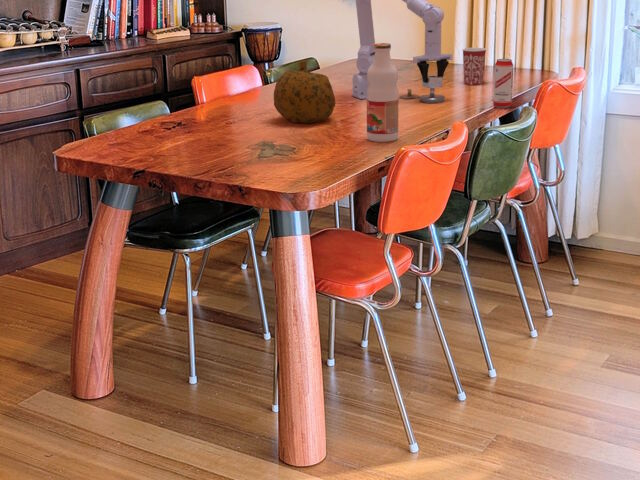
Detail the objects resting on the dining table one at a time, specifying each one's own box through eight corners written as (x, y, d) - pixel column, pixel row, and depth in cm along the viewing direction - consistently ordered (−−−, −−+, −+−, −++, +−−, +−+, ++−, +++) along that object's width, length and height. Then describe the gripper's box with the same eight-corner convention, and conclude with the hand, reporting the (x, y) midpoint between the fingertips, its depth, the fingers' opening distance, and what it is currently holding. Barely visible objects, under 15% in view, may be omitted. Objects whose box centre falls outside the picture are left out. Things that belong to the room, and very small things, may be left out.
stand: (405, 100, 331) (405, 91, 330) (396, 96, 338) (396, 88, 337) (422, 98, 334) (422, 89, 333) (413, 95, 340) (413, 86, 339)
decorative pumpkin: (282, 127, 289) (281, 62, 284) (268, 120, 309) (267, 59, 304) (344, 124, 294) (344, 61, 289) (326, 117, 314) (326, 58, 309)
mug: (482, 86, 354) (483, 51, 349) (459, 85, 357) (460, 50, 353) (489, 81, 365) (490, 46, 360) (467, 80, 368) (468, 46, 364)
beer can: (511, 108, 312) (513, 61, 306) (492, 108, 313) (494, 61, 308) (511, 105, 317) (513, 58, 312) (493, 104, 319) (495, 58, 313)
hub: (426, 104, 323) (426, 91, 321) (415, 100, 331) (415, 87, 329) (449, 101, 326) (449, 89, 324) (437, 97, 334) (437, 85, 332)
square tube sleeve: (429, 88, 324) (429, 78, 322) (422, 85, 328) (422, 76, 327) (442, 87, 325) (442, 77, 324) (435, 84, 330) (435, 74, 329)
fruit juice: (401, 141, 270) (401, 45, 261) (369, 143, 269) (368, 46, 260) (395, 134, 279) (395, 41, 270) (364, 136, 278) (363, 42, 269)
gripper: (419, 45, 316) (419, 85, 320) (456, 42, 320) (456, 81, 325) (410, 43, 322) (410, 82, 326) (447, 40, 327) (446, 78, 331)
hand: (432, 81), depth 326 cm, fingers closed on square tube sleeve, 5 cm apart
